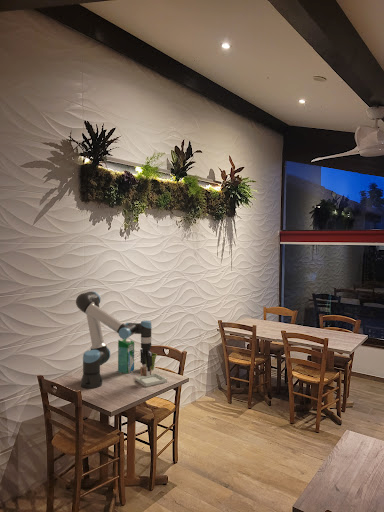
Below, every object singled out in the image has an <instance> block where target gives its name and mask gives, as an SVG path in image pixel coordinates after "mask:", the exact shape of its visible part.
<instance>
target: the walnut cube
mask: <svg viewBox="0 0 384 512" xmlns="http://www.w3.org/2000/svg"><path fill="white" fill-rule="evenodd" d="M151 374H152V370H151V368H150V375H151ZM142 375H143V376H145V377H146V367H143V368H142ZM150 375H149V376H150Z"/></svg>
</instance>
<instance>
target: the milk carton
mask: <svg viewBox="0 0 384 512" xmlns="http://www.w3.org/2000/svg"><path fill="white" fill-rule="evenodd" d="M117 343H118V344H117V349H118V350H117V372H118V373H122V372H123V374H130V373H131V371H132V372H134V371H135V341H133V340H131V339H129V338H126V339H122V338H119V339H118V340H117ZM133 370H134V371H133ZM129 372H130V373H129Z"/></svg>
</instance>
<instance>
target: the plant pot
mask: <svg viewBox="0 0 384 512" xmlns="http://www.w3.org/2000/svg"><path fill="white" fill-rule="evenodd" d="M151 353H152V366H150V368H151V371H152V370H154V369H155V363H156V357H157V356H158V354H157V353H154V352H151ZM146 366H147V362H146Z"/></svg>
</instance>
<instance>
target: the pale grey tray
mask: <svg viewBox="0 0 384 512" xmlns="http://www.w3.org/2000/svg"><path fill="white" fill-rule="evenodd" d="M135 382H137V383H138V384H140V385H142V386H144V387H145V388H149V387H152V386H156V385H161V384H160V383H162V384H165V382H166V383H167V382H168V379H167V378H166V377H164V376H162V375H161V374H158V373H157V372H155V373H151V375H150V376H146V377H145V376H141V375H140V376H136V377H135Z"/></svg>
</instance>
